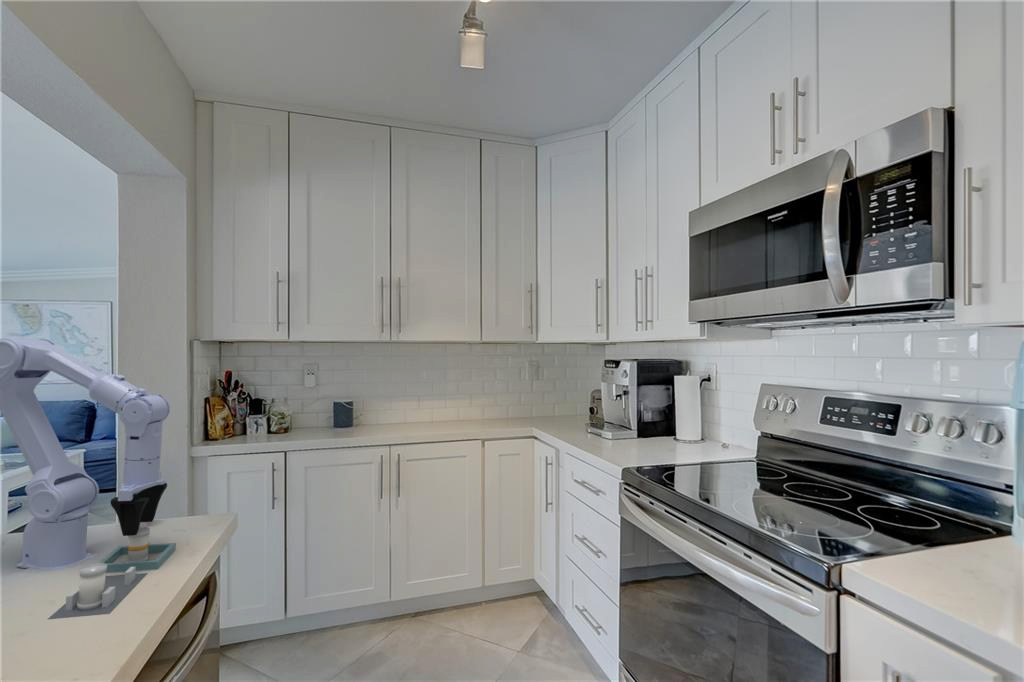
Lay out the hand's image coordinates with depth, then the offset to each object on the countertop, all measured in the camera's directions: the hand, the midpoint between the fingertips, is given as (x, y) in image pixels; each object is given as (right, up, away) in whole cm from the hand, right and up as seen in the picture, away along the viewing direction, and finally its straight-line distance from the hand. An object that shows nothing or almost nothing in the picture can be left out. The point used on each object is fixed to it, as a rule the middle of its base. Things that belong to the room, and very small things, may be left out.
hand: (138, 528), depth 100 cm
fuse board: (+4, -7, -13) cm, 15 cm away
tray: (0, -7, 0) cm, 7 cm away
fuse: (+5, -6, -17) cm, 19 cm away
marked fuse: (0, -6, 0) cm, 6 cm away
